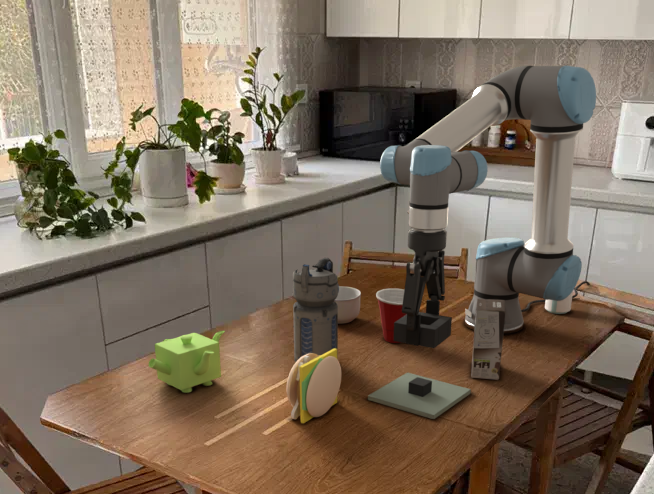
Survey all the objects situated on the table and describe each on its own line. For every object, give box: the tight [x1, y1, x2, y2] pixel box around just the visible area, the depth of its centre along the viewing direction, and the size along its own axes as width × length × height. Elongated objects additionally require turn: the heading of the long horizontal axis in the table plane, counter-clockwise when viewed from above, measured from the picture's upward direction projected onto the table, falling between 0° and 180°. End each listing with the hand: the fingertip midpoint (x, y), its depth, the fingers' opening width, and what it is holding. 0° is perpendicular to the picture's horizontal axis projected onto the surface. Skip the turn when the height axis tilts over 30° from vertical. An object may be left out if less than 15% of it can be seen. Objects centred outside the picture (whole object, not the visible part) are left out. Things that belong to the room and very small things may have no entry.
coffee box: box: [470, 299, 506, 381], centre depth 176 cm, size 9×6×16 cm
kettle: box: [148, 330, 226, 394], centre depth 171 cm, size 15×14×11 cm
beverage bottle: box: [292, 257, 340, 363], centre depth 179 cm, size 10×13×25 cm
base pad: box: [367, 372, 472, 420], centre depth 166 cm, size 16×16×4 cm
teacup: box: [335, 286, 362, 324], centre depth 213 cm, size 14×11×8 cm
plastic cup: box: [375, 288, 406, 344], centre depth 197 cm, size 11×11×12 cm
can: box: [544, 290, 574, 315], centre depth 218 cm, size 7×7×12 cm
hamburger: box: [285, 348, 342, 424], centre depth 158 cm, size 12×8×12 cm
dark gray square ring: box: [394, 311, 453, 349], centre depth 161 cm, size 9×9×4 cm
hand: (422, 337), depth 161 cm, fingers closed on dark gray square ring, 9 cm apart
